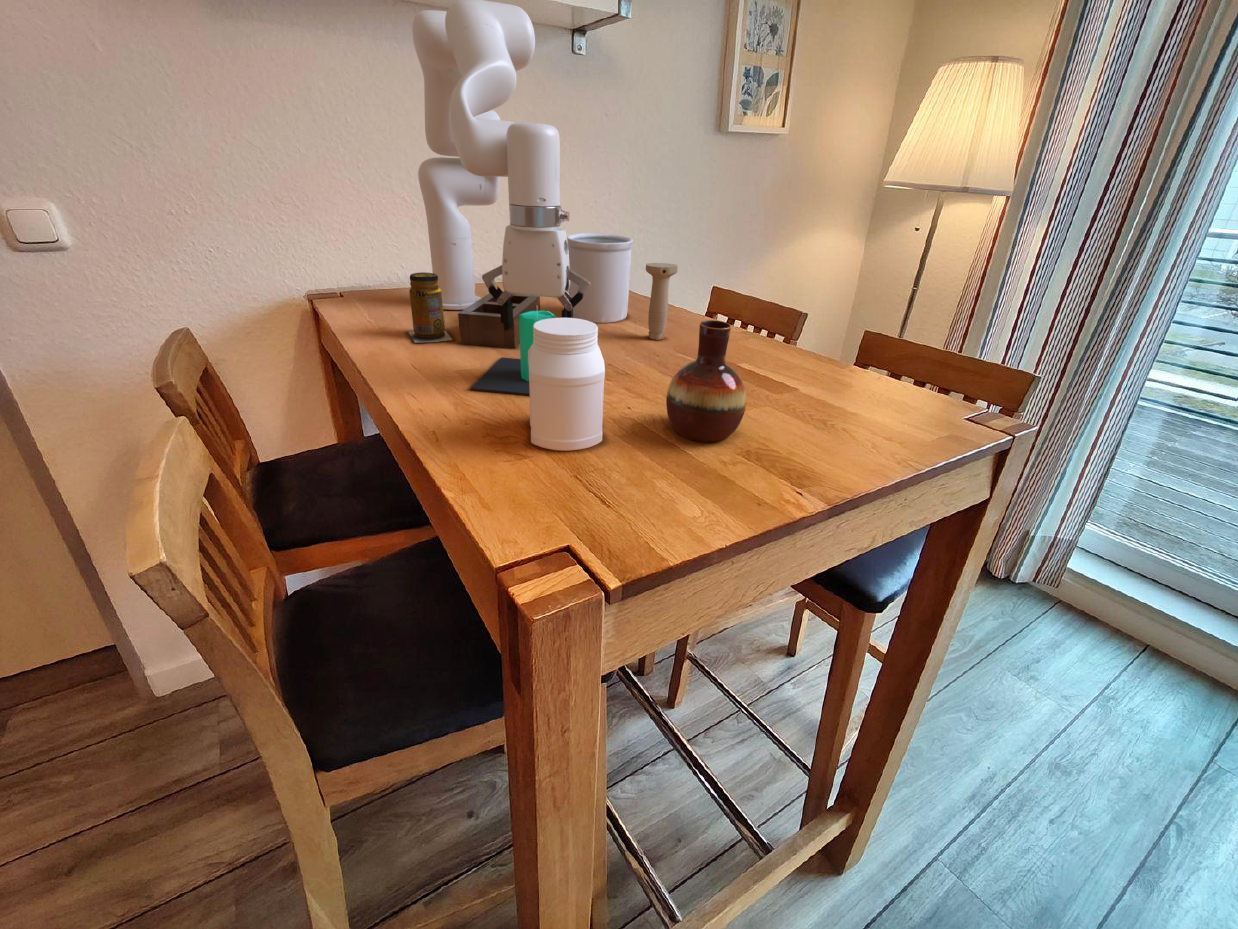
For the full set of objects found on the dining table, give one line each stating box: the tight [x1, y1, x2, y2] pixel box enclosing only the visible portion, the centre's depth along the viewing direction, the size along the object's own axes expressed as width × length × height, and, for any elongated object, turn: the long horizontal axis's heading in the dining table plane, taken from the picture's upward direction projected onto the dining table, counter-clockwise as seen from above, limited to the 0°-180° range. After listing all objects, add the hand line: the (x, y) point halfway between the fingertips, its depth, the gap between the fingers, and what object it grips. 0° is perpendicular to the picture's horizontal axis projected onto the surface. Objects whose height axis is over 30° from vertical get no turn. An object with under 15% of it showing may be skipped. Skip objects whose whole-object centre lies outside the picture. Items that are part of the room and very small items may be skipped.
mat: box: [470, 357, 530, 397], centre depth 100 cm, size 18×16×1 cm
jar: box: [528, 317, 606, 452], centre depth 78 cm, size 12×10×15 cm
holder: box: [457, 292, 541, 349], centre depth 122 cm, size 11×20×6 cm, turn 173°
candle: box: [519, 305, 557, 381], centre depth 97 cm, size 6×6×12 cm
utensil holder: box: [567, 232, 634, 324], centre depth 135 cm, size 15×15×18 cm
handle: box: [645, 262, 679, 341], centre depth 121 cm, size 5×6×15 cm
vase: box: [665, 319, 747, 443], centre depth 80 cm, size 11×11×15 cm
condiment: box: [407, 272, 453, 344], centre depth 115 cm, size 7×8×12 cm
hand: (537, 330), depth 96 cm, fingers open, 9 cm apart
